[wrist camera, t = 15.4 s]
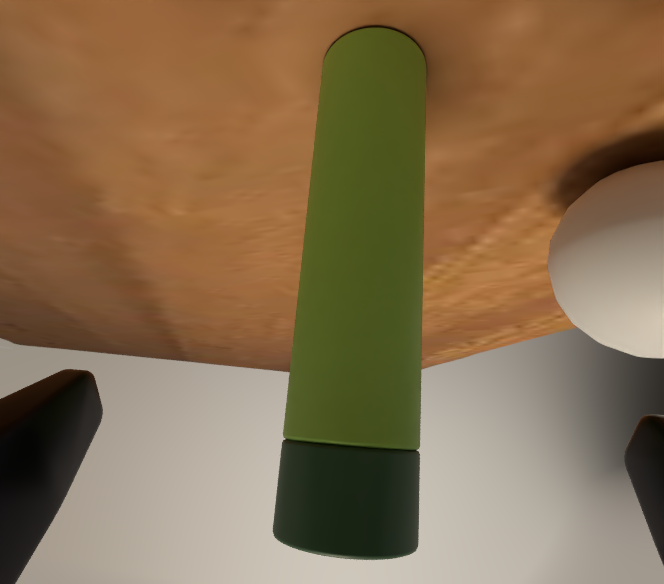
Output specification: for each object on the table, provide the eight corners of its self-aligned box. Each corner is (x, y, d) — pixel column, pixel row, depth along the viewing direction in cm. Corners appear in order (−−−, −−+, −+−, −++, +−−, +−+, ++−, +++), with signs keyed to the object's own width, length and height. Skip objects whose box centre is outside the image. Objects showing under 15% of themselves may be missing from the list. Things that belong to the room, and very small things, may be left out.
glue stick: (412, 10, 12) (394, 572, 8) (435, 95, 14) (431, 538, 10) (305, 45, 13) (243, 540, 9) (345, 115, 16) (311, 517, 12)
